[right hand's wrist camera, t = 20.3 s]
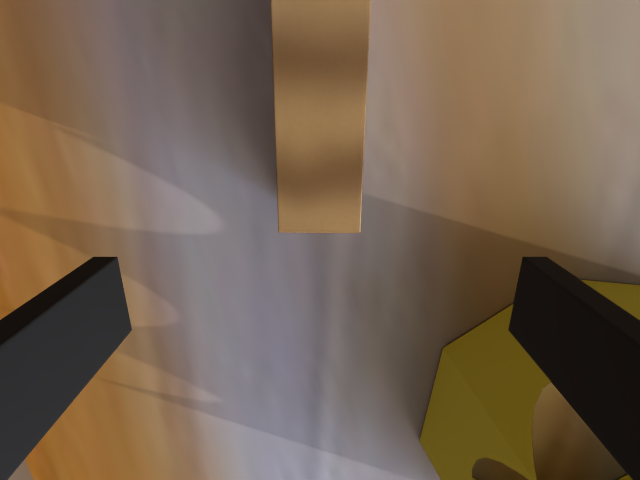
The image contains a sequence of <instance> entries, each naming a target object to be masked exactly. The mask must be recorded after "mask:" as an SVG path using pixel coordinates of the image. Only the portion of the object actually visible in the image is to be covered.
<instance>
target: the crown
mask: <svg viewBox="0 0 640 480" xmlns="http://www.w3.org/2000/svg"><path fill="white" fill-rule="evenodd" d="M581 281H583V282H584V283H586V284H587V285H589V286H590V287H592V288H593V289H595V290H596V291H597V292H599V293H600V294H602V295H603V296H605V297H606V298H608V299H609V300H611V301H612V302H614V303H615V304H617V305H618V306H620V307H621V308H623V309H624V310H626V311H627V312H628V313H630V314H631V315H633V316H634V317H636V318H637V319H639V320H640V285H632V284H621V283H610V282H599V281H589V280H581ZM512 308H513V304H512V305H511V306H509V307H508V308H506V309H504V310H503V311H501V312H500V313H498V314H496V315H495V316H493V317H492V318H490V319H488V320H487V321H485V322H484V323H482V324H481V325H479V326H477V327H476V328H474V329H473V330H471V331H469V332H468V333H466V334H465V335H463V336H461V337H460V338H458V339H457V340H455V341H453V342H452V343H450V344H449V345H447V346H446V347H444V348H443V350H442V354H441V358H440V362H439V366H438V370H437V374H436V378H435V382H434V386H433V390H432V394H431V397H430V401H429V405H428V409H427V413H426V417H425V421H424V425H423V429H422V433H421V437H420V443H421V445H422V446H423V448H424V450H425V452H426V454H427V455H428V457H429V459H430V461H431V463H432V464H433V466H434V468H435V470H436V472H437V473H438V475H439V477H440V479H441V480H476V479H475V478H473V477H472V468H473V466H474V464H475V462H476V460H478V459H482V458H485V457H486V458H489V459H493V460H496V461H499V462H501V463H503V464H505V465H506V466H508V467H510V468H511V469H513V470H515V471H516V472H518V473H520V474H521V475H523V476H524V477H526V478H527V479H528V480H537V478H536V473H535V467H534V458H533V444H532V421H533V413H534V405H535V403H536V401H537V399H538V397H539V395H540V393H541V390H542V388H544V387H545V386H546V385H548V384H549V383H550V382H551V381H550V380H549V379H548V377H547V376H546V375H545V374H544V373H543V371H542V370H541V369H540V368H539V367H538V365H537V364H536V363H535V362H534V360H533V359H532V358H531V357H530V356H529V354H528V353H527V352H526V351H525V350H524V348H523V347H522V346H521V345H520V344H519V342H518V341H517V340H516V339H515V338H514V336H513V335H512V334H511V333H510V332H509V330H508V328H509V323H510V318H511V313H512ZM618 480H632V478H631V477H630V476H629V475H626V476H624V477H622V478H620V479H618Z"/></svg>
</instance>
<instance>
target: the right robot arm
mask: <svg viewBox="0 0 640 480" xmlns="http://www.w3.org/2000/svg"><path fill="white" fill-rule="evenodd" d="M131 330H132V328H131V323H130V318H129V313H128V308H127V303H126V298H125V293H124V288H123V283H122V278H121V273H120V268H119V263H118V258H117V257H93V258H91V259H90V260H88V261H87V262H85V263H84V264H82V265H81V266H79V267H78V268H76V269H75V270H74V271H72V272H71V273H69V274H68V275H66V276H65V277H63V278H62V279H60V280H59V281H57V282H56V283H54V284H53V285H51V286H50V287H48V288H47V289H45V290H44V291H43V292H41V293H40V294H38V295H37V296H35V297H34V298H32V299H31V300H29V301H28V302H26V303H25V304H23V305H22V306H20V307H19V308H17V309H16V310H14V311H13V312H12V313H10V314H9V315H7V316H6V317H4V318H3V319H1V320H0V480H8V478H9V477H10V476H11V475H12V474H13V472H14V471H15V470H16V469H17V468H18V466H19V465H20V464H21V463H22V462H23V460H24V459H25V458H26V457H27V456H28V454H29V453H30V452H31V451H32V450H33V448H34V447H35V446H36V445H37V444H38V442H39V441H40V440H41V439H42V438H43V436H44V435H45V434H46V433H47V432H48V430H49V429H50V428H51V427H52V426H53V424H54V423H55V422H56V421H57V419H58V418H59V417H60V416H61V415H62V413H63V412H64V411H65V410H66V409H67V407H68V406H69V405H70V404H71V403H72V401H73V400H74V399H75V398H76V397H77V395H78V394H79V393H80V392H81V391H82V389H83V388H84V387H85V386H86V385H87V383H88V382H89V381H90V380H91V379H92V377H93V376H94V375H95V374H96V373H97V371H98V370H99V369H100V368H101V367H102V365H103V364H104V363H105V362H106V360H107V359H108V358H109V357H110V356H111V354H112V353H113V352H114V351H115V350H116V348H117V347H118V346H119V345H120V344H121V342H122V341H123V340H124V339H125V338H126V336H127V335H128V334H129V333H130V332H131ZM508 330H509V332H510V333H511V334H512V335H513V336H514V338H515V339H516V340H517V341H518V342H519V344H520V345H521V346H522V347H523V348H524V350H525V351H526V352H527V353H528V354H529V356H530V357H531V358H532V359H533V360H534V362H535V363H536V364H537V365H538V367H539V368H540V369H541V370H542V371H543V373H544V374H545V375H546V376H547V377H548V379H549V380H550V381H551V382H552V383H553V385H554V386H555V387H556V388H557V389H558V391H559V392H560V393H561V394H562V395H563V397H564V398H565V399H566V400H567V401H568V403H569V404H570V405H571V406H572V407H573V409H574V410H575V411H576V412H577V413H578V415H579V416H580V417H581V418H582V419H583V421H584V422H585V423H586V424H587V426H588V427H589V428H590V429H591V430H592V432H593V433H594V434H595V435H596V436H597V438H598V439H599V440H600V441H601V442H602V444H603V445H604V446H605V447H606V448H607V450H608V451H609V452H610V453H611V454H612V456H613V457H614V458H615V459H616V460H617V462H618V463H619V464H620V465H621V466H622V468H623V469H624V470H625V471H626V472H627V474H628V475H629V476H630V477H631V478H632V480H640V320H639V319H637V318H636V317H634V316H633V315H631V314H630V313H628V312H627V311H626V310H624V309H623V308H621V307H620V306H618V305H617V304H615V303H614V302H612V301H611V300H609V299H608V298H606V297H605V296H603V295H602V294H600V293H599V292H597V291H596V290H595V289H593V288H592V287H590V286H589V285H587V284H586V283H584V282H583V281H581V280H580V279H578V278H577V277H575V276H574V275H572V274H571V273H569V272H568V271H566V270H565V269H564V268H562V267H561V266H559V265H558V264H556V263H555V262H553V261H552V260H550V259H549V258H547V257H523V258H522V263H521V268H520V273H519V278H518V283H517V288H516V293H515V298H514V303H513V308H512V313H511V318H510V323H509V328H508Z"/></svg>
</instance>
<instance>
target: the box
mask: <svg viewBox="0 0 640 480" xmlns="http://www.w3.org/2000/svg"><path fill="white" fill-rule="evenodd" d="M370 5H371V0H271V24H272V54H273V84H274V113H275V143H276V172H277V202H278V231H279V232H291V233H360V227H361V204H362V182H363V160H364V138H365V116H366V94H367V71H368V49H369V27H370Z"/></svg>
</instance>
